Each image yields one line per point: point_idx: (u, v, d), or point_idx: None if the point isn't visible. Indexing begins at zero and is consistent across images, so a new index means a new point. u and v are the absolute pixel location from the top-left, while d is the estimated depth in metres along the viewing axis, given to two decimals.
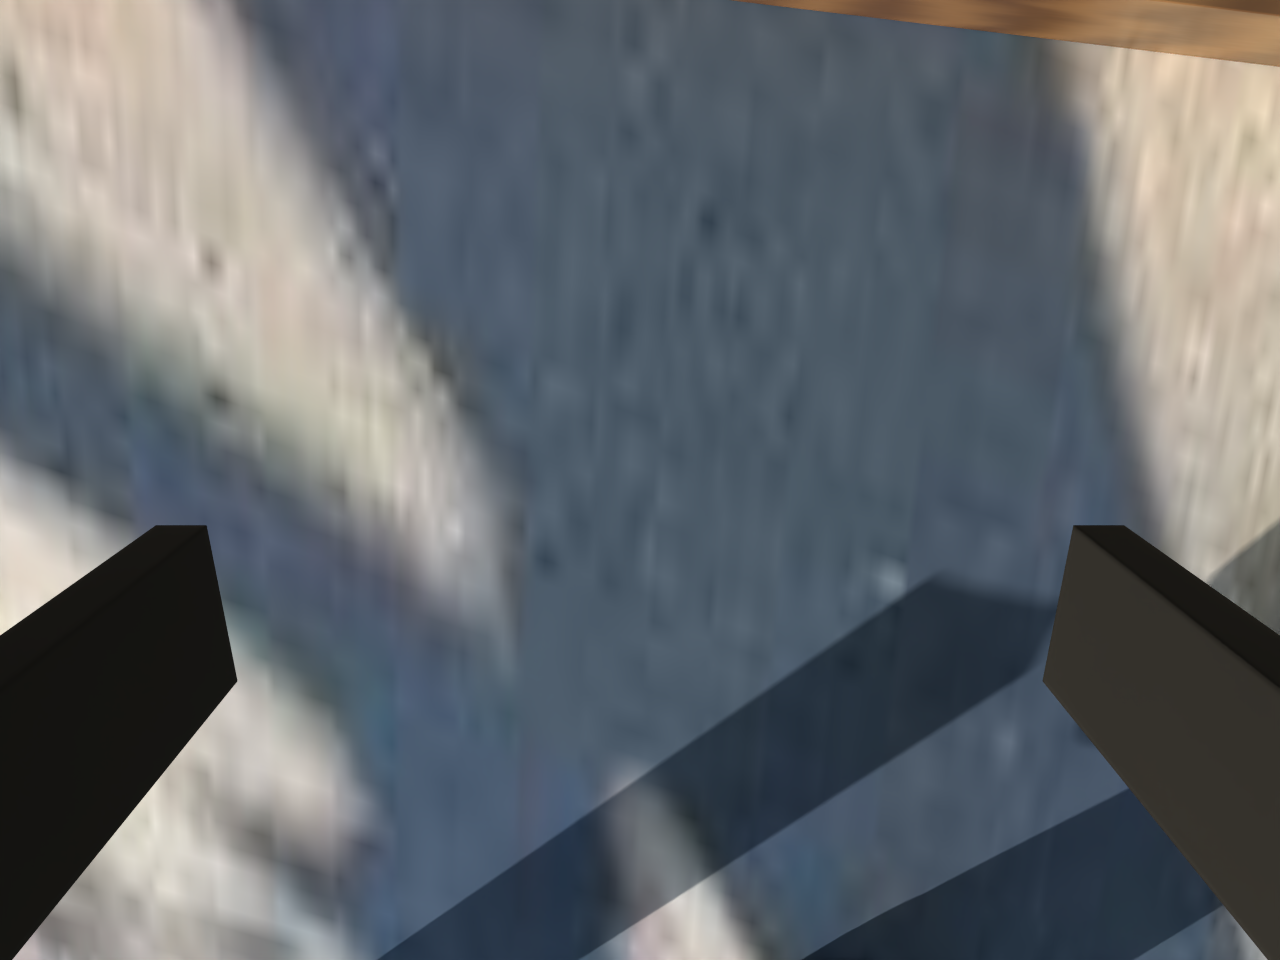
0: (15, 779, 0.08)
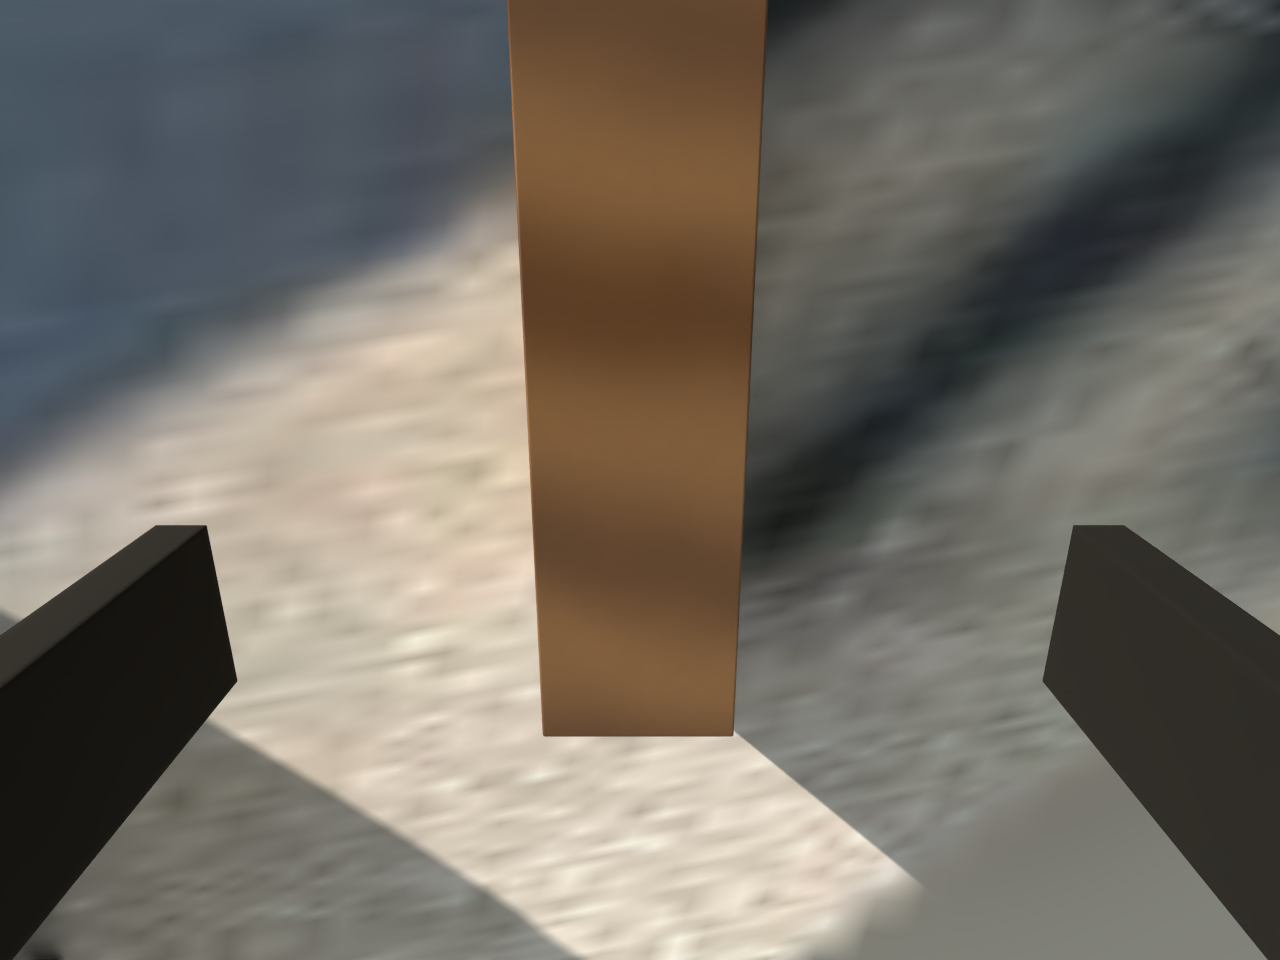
0: (15, 779, 0.08)
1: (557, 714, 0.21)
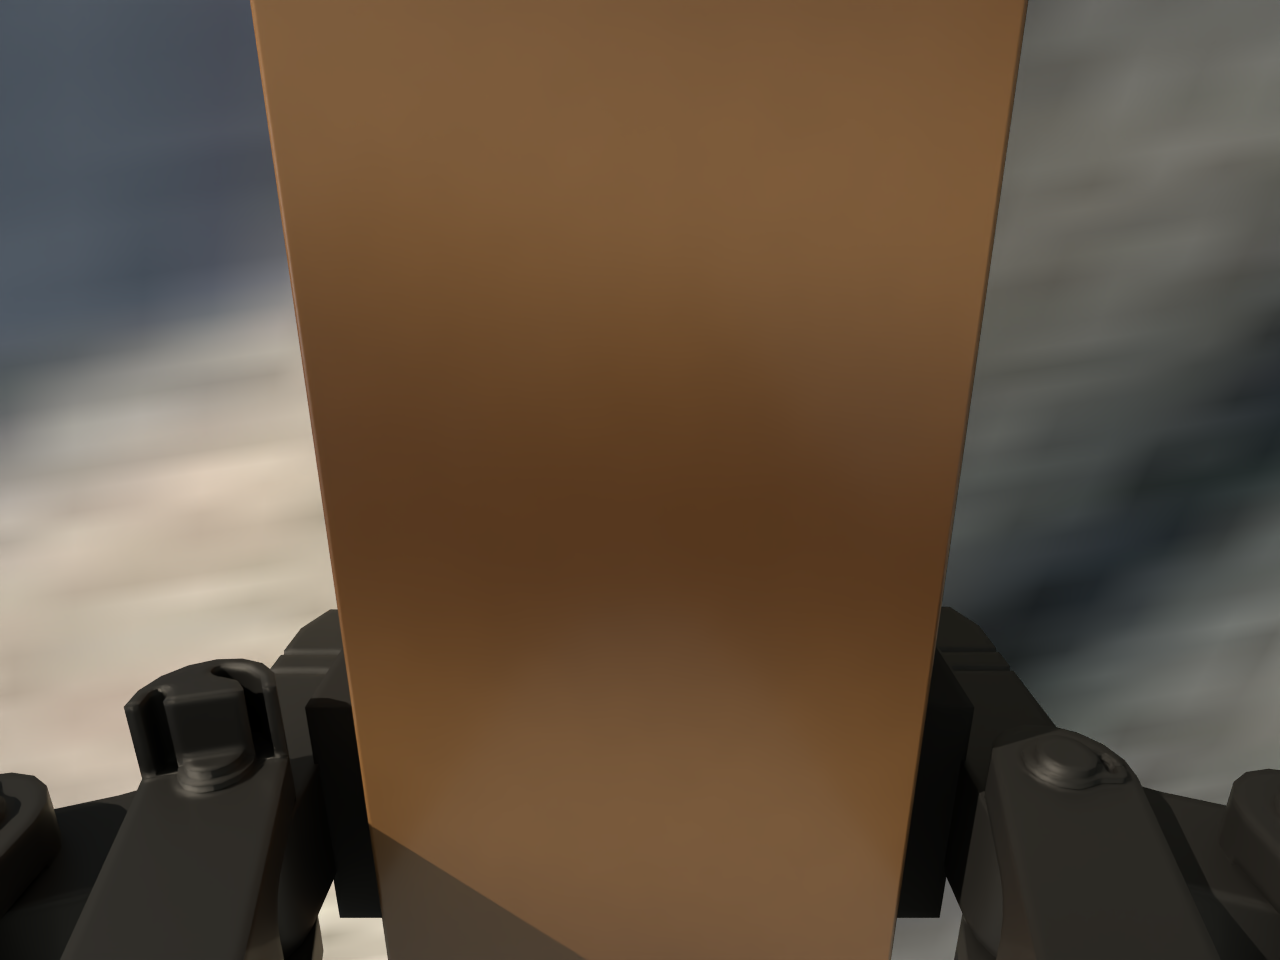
0: None
1: None
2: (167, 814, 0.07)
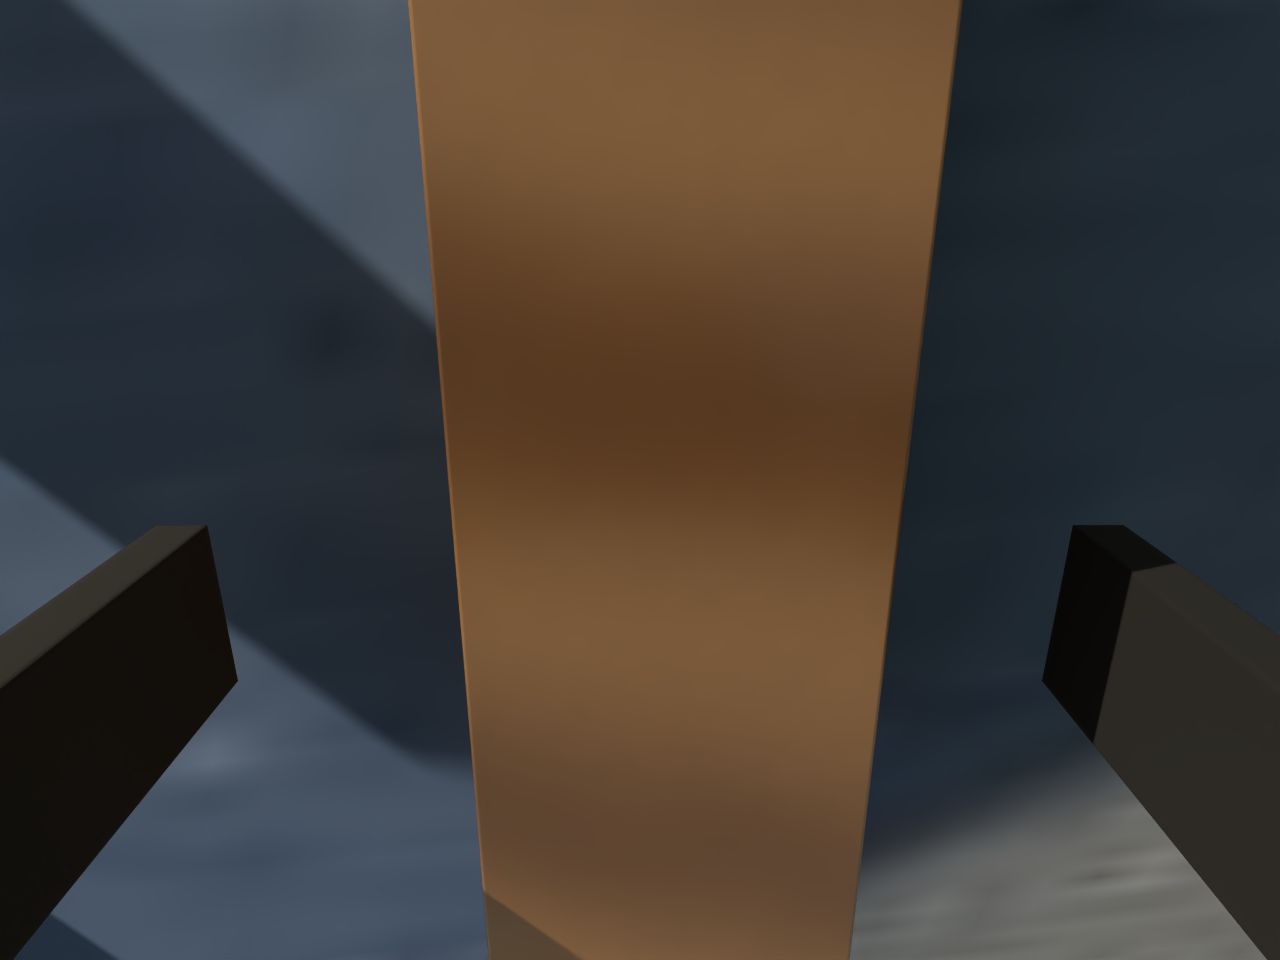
0: (16, 779, 0.08)
1: None
2: None
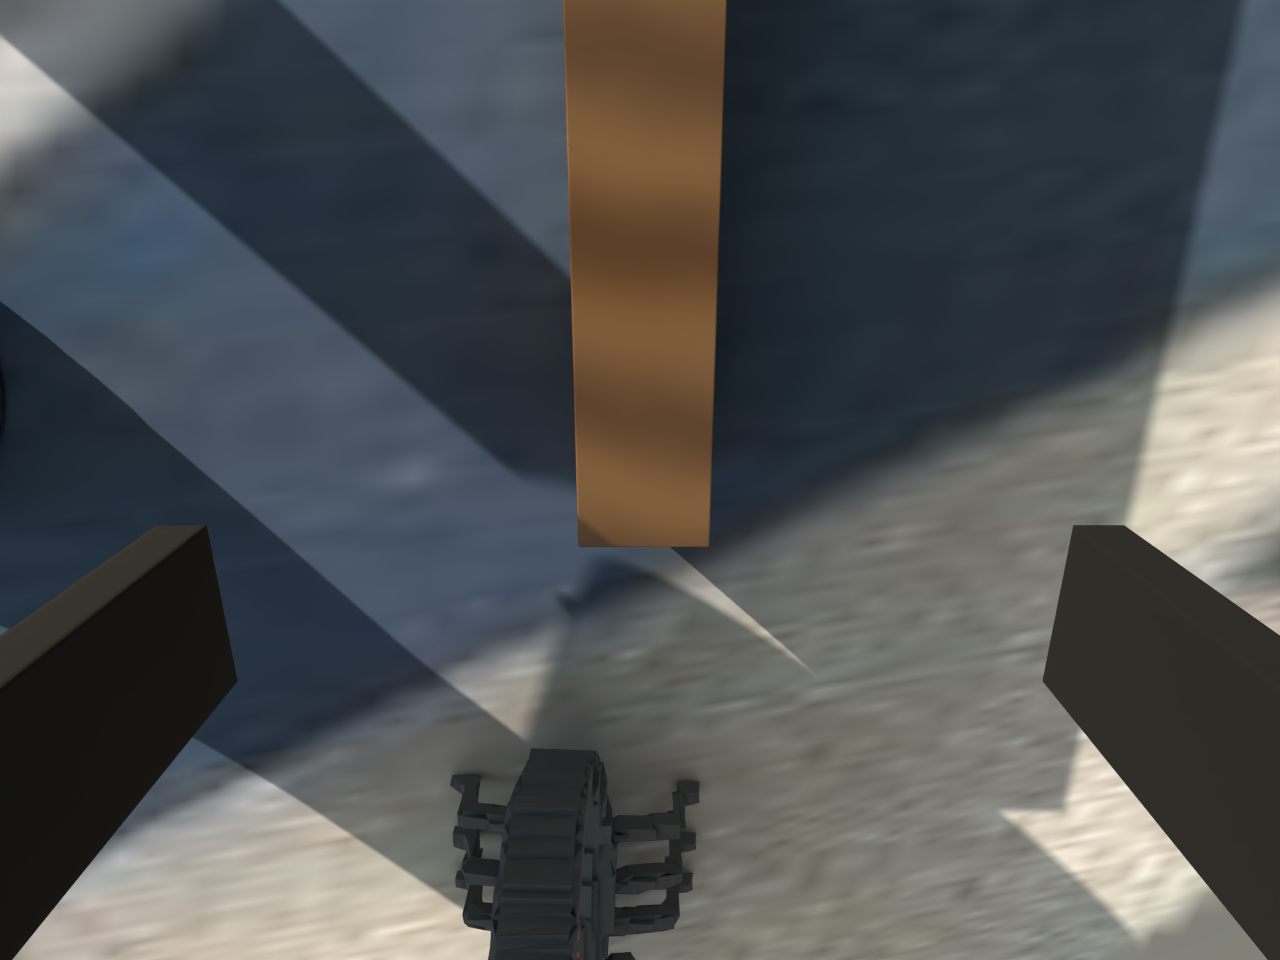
0: (15, 779, 0.08)
1: (588, 529, 0.31)
2: None
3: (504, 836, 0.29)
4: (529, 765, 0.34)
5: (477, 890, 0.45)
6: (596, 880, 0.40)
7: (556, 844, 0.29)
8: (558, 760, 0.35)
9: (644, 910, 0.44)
